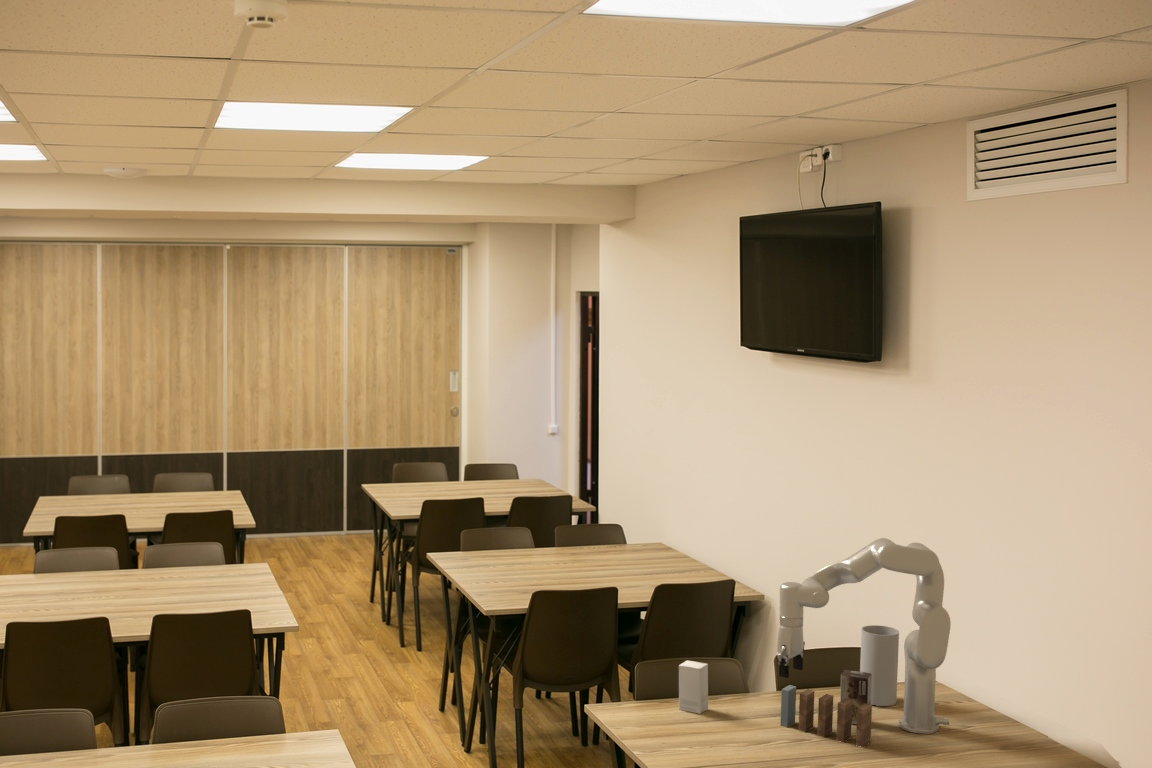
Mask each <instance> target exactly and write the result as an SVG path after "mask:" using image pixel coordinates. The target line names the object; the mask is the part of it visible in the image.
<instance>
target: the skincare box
mask: <svg viewBox="0 0 1152 768" xmlns="http://www.w3.org/2000/svg"><path fill="white" fill-rule="evenodd" d="M708 709H709V664H708V663H705V662H698V661H694V660H688V659H687V660H685V661H684V662H682V663H680V664H679V665H678V710H679V711H685V712H690V713H695V714H697V715H698V714H699V715H700V714H702V713H704V712H705V711H707V710H708Z"/></svg>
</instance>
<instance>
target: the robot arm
mask: <svg viewBox="0 0 1152 768" xmlns="http://www.w3.org/2000/svg"><path fill="white" fill-rule="evenodd" d="M881 569H885V570H888V571H890V572H891V571H892V572H896V573H901V574H906V575H914V576H915V577H916V586H915V587H916V589H915V595H914V599H913V601H914V602H913V606H912V619H913V621H914V622H915V623H916V625H917V626H918V627H919V629H914V630H911V632H908V634H907V636H906V638H905V640H904V645H903V650H904V664H905V665H904V666H905V669H904V690H903V691H904V693H903V717H902V718H900V719H898V721H897V724H898V727H899V728H900V729H902V730H903V731H904V730H905V731H906V732H910V733H914V734H923V735H925V734H926V735H928V734H934V733H936V732H938V731H939V730H940V729H939V727H940V725H945V726H949V725H950V719H949V718H944V716H938V715H936V714H935V702H936V700H935V699H936V681H937V671H936V670H937V669H938V668H939V667H941V665H942V664H943V663H944V661H945V659H946V656H947V652H948V647H949V641H950V632H951V625H952V624H951V623H952V622H951V617H950V614H949V611H947V609H945V608H944V607H943V602H944V601H943V600H944V592H945V591H944V590H945V575H944V571H943V568H942V565H941V563H940V558H939V557H938V555H937V554H936V553H935V552H934V551H933V550H931V549H930V548H929V547H927V546H926V545H925V544H922V543H920V542H911V543H909V544H908V545H907V546H905V545H901V544H897V543H895V542H894V541H892V540H891V539H888V538H885V537H879V538H877V539H875V540H874V541H872V542H870V543H868V545H866V546H864V547H862V548H861V549H859V550H858V551H856V552H854V553H853V554H851V555H850V556H848V557H846V558H845V559H843V560H840V561H837V562H834V563H832V564H829V565H827V566H825V567H823V568H821V569H819V570H818V571H816V572H814V573H813V574H811V575H809V576H808V577H807V578H805V579H804V581H803V582H801V583H799V582H796V581H786V582H783V583H781V584H780V586H779V629H778V634H777V636H778V637H777V644H776V645H777V649H776V650H777V651H776V656H777V662H778V667H779V668H778V676H779V677H782V678H786V679H788V678H790V677H789V676H790V665H789V662H790V659H792V660H793V661H792V664H793V665H792V668H793V669H794V670H797V671H802V670H803V669H804V655H805V654H804V652H805V645H806V641H804V628H803V627H804V607H805V608H812V609H821V608H824V607H825V606H826V605H827V604H828V603H829V602H830V594H829V591H830V590H832V589H834V588H836V587H838V586H841V585H846V584H857V583H860V582H862V581H864V580H866V579H867V578H869V577H871V576H872V575H874V574H875V573H877V572H879V571H880V570H881Z"/></svg>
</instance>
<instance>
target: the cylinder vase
mask: <svg viewBox="0 0 1152 768" xmlns="http://www.w3.org/2000/svg"><path fill="white" fill-rule="evenodd" d="M860 634H861V635H860V637H861V638H860V639H861V640H860V664H859V672H866V673H871V705H876V706H875V707H878V706H888V707H891V706H894V705H896V703H897V697H898V696H897V694H898V693H897V692H898V671H899V668H898V667H899V647H900V646H899V645H900V644H899V643H900V642H899V641H900V631H899V630H898V629H896V628H894V627H890V626H887V625H879V624H878V625H877V624H876V625H874V624H871V625H864V626H862V627H861V633H860Z"/></svg>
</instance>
